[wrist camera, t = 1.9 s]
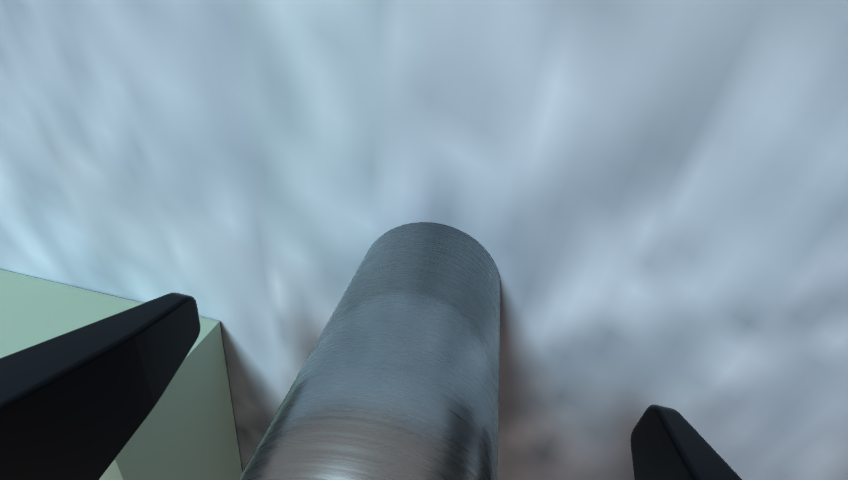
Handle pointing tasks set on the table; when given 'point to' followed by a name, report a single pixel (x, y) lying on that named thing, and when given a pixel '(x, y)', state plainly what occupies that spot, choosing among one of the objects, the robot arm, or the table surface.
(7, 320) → the hole block
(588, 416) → the table surface
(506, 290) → the table surface
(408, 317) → the long pin
